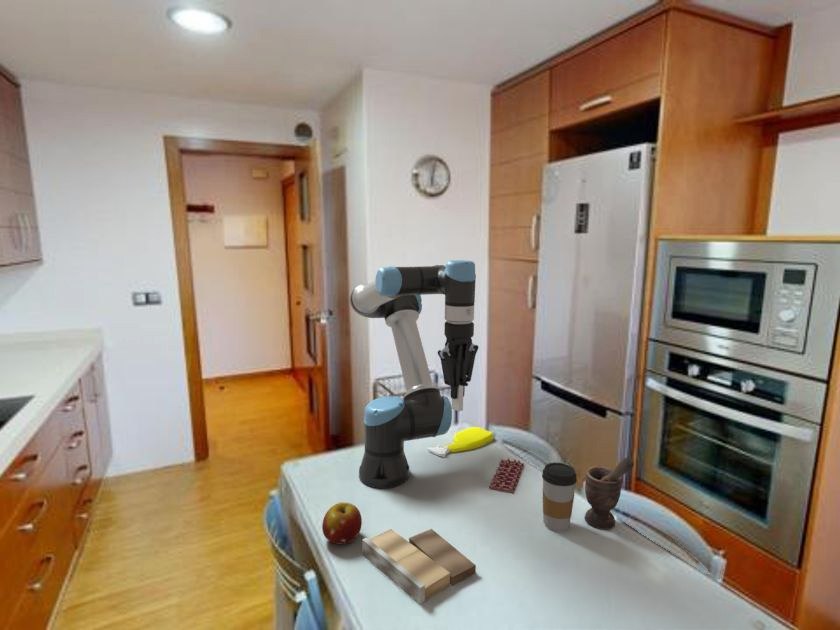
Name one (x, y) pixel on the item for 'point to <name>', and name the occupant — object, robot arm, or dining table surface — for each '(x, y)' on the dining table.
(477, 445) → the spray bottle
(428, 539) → the walnut plank
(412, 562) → the plank row
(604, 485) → the mortar and pestle
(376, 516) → the dining table surface
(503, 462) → the chocolate bar
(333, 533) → the fruit
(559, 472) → the coffee cup
